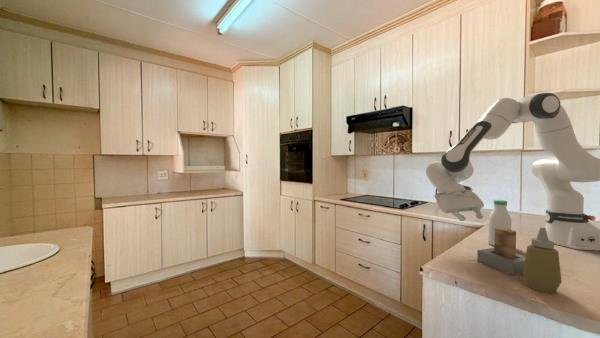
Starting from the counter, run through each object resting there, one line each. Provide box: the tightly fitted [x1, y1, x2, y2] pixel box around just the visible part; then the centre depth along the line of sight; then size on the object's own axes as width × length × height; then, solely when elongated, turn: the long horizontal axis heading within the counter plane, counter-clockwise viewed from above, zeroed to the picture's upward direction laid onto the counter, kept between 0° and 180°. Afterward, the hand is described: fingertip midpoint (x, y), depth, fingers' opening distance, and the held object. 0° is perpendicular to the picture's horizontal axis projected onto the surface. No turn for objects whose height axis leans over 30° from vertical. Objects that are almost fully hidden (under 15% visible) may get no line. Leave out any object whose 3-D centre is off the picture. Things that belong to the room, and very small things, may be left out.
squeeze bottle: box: [522, 227, 562, 294], centre depth 70 cm, size 8×8×18 cm
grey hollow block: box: [476, 247, 526, 276], centre depth 86 cm, size 12×10×4 cm
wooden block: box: [493, 228, 517, 259], centre depth 86 cm, size 5×3×12 cm, turn 16°
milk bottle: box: [487, 199, 512, 247], centre depth 106 cm, size 8×8×20 cm
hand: (472, 219), depth 98 cm, fingers open, 8 cm apart
